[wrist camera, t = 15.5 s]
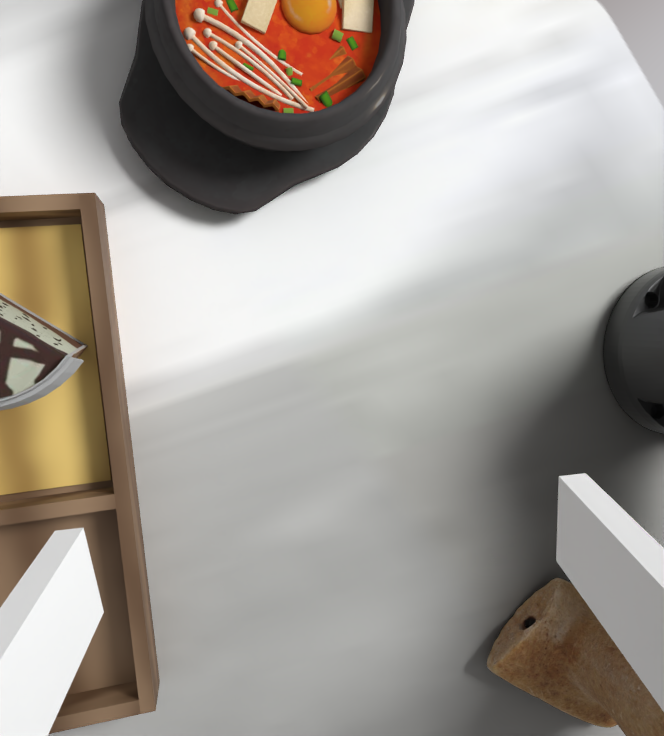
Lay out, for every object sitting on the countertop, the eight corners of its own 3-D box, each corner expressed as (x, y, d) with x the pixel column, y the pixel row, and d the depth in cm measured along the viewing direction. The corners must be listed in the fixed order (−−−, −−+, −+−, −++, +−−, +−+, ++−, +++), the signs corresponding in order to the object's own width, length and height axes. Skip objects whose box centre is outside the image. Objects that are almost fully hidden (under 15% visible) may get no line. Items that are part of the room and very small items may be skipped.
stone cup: (668, 614, 53) (842, 717, 39) (603, 729, 52) (757, 880, 38) (544, 534, 50) (683, 614, 36) (473, 656, 49) (586, 789, 35)
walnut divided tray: (104, 205, 41) (94, 192, 38) (159, 681, 44) (155, 710, 40) (-101, 214, 39) (-131, 201, 35) (-31, 721, 41) (-52, 755, 38)
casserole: (271, 271, 44) (286, 255, 36) (58, 106, 41) (20, 46, 32) (457, 24, 47) (510, -44, 38) (270, -154, 43) (285, -271, 35)
